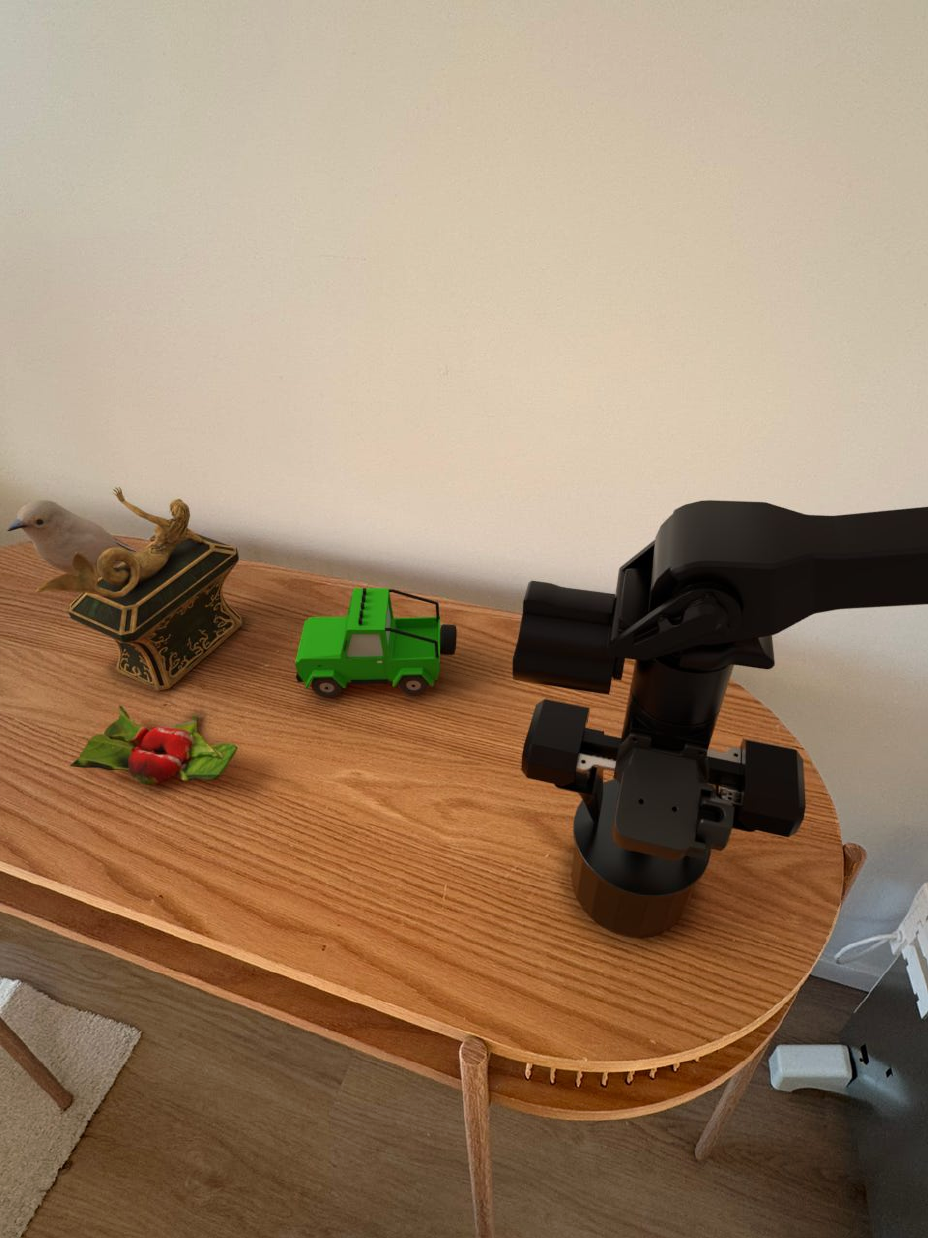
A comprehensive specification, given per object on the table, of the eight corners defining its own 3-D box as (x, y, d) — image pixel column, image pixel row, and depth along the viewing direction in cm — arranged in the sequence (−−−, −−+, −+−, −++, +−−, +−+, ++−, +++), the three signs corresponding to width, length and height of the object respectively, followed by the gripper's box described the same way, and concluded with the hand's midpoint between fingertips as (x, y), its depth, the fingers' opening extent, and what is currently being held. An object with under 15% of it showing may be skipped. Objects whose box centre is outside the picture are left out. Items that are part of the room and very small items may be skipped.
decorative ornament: (65, 764, 69) (123, 682, 76) (91, 789, 73) (144, 709, 79) (203, 787, 65) (251, 698, 72) (223, 813, 68) (267, 726, 75)
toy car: (310, 648, 85) (295, 580, 78) (457, 644, 85) (455, 576, 78) (299, 701, 79) (281, 633, 72) (458, 698, 79) (455, 629, 72)
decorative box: (202, 593, 93) (155, 454, 80) (260, 616, 89) (221, 474, 76) (71, 696, 80) (-10, 550, 67) (133, 727, 76) (60, 580, 63)
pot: (707, 869, 63) (724, 823, 58) (657, 962, 57) (671, 920, 52) (605, 812, 67) (614, 765, 63) (550, 893, 62) (554, 848, 57)
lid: (729, 827, 59) (744, 787, 55) (673, 931, 52) (686, 894, 49) (611, 764, 64) (618, 725, 60) (547, 853, 57) (551, 815, 54)
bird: (43, 613, 91) (-12, 511, 81) (135, 559, 99) (95, 460, 89) (66, 628, 89) (13, 525, 79) (158, 571, 97) (120, 471, 87)
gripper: (503, 757, 43) (500, 891, 53) (843, 834, 39) (769, 963, 49) (542, 634, 51) (534, 771, 61) (829, 686, 47) (768, 824, 57)
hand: (642, 828), depth 57 cm, fingers open, 7 cm apart
